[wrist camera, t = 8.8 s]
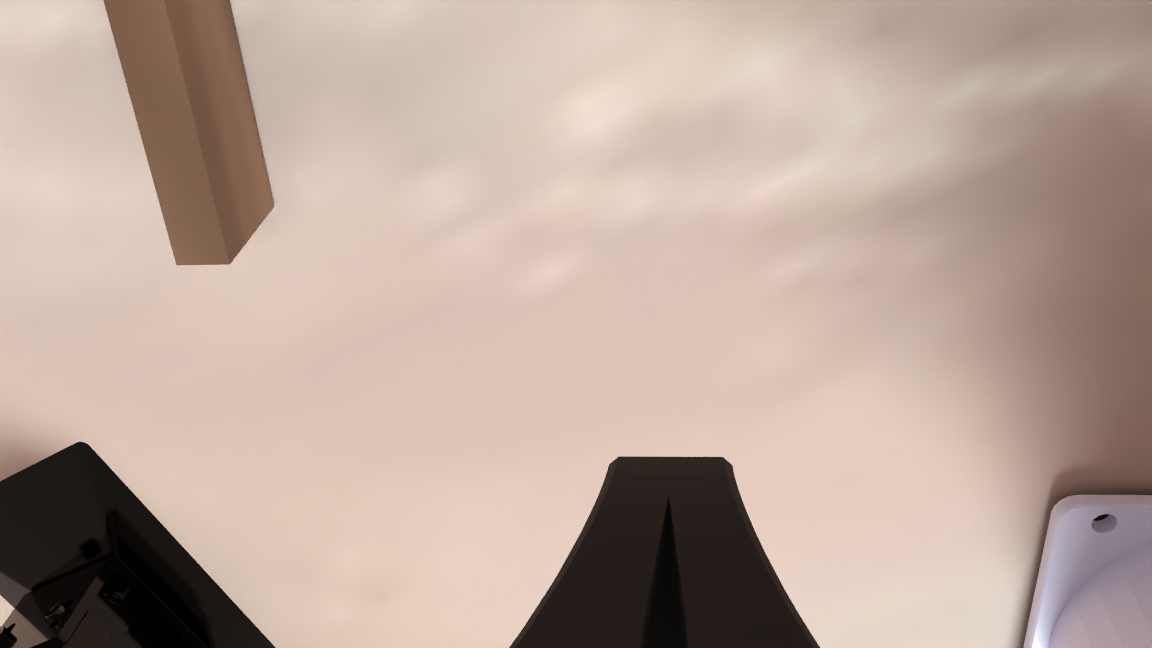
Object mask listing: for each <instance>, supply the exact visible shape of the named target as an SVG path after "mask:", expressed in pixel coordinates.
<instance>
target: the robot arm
mask: <svg viewBox="0 0 1152 648" xmlns="http://www.w3.org/2000/svg"><path fill="white" fill-rule="evenodd" d="M1103 514H1110V515H1109V516H1108V517H1107V518H1105V519H1103V520H1099V521H1094V518H1096V517H1098V516H1099V515H1103ZM509 648H820V647H819V645H818V644H817V642H816V641H815V639H814V638H813V636H812V635H811V633H810V631H809V630H808V628H807V626H806V625H805V623H804V622H803V620H802V618H801V617H800V615H799V614H798V612H797V610H796V609H795V607H794V605H793V603H792V602H791V600H790V598H789V597H788V595H787V593H786V591H785V590H784V588H783V586H782V584H781V582H780V580H779V578H778V576H777V574H776V573H775V571H774V569H773V567H772V565H771V563H770V561H769V559H768V557H767V556H766V554H765V552H764V550H763V548H762V545H761V543H760V541H759V539H758V537H757V535H756V533H755V530H754V528H753V526H752V523H751V521H750V519H749V516H748V514H747V512H746V509H745V507H744V504H743V501H742V499H741V496H740V493H739V490H738V487H737V484H736V480H735V477H734V472H733V467H732V465H731V464H730V463H729V462H728V461H727V460H726V459H725V458H723V457H618V458H617V459H615V460H614V461H613V462H612V463H611V464H609V467H608V471H607V474H606V477H605V480H604V483H603V485H602V488H601V491H600V493H599V495H598V498H597V500H596V502H595V505H594V507H593V509H592V511H591V513H590V515H589V517H588V519H587V521H586V523H585V526H584V528H583V530H582V532H581V534H580V535H579V537H578V539H577V541H576V543H575V544H574V546H573V548H572V550H571V552H570V553H569V555H568V557H567V559H566V561H565V563H564V564H563V566H562V568H561V570H560V572H559V573H558V575H557V577H556V578H555V580H554V582H553V583H552V585H551V586H550V588H549V590H548V591H547V593H546V594H545V596H544V597H543V599H542V600H541V602H540V603H539V605H538V606H537V608H536V609H535V611H534V613H533V614H532V616H531V617H530V619H529V620H528V622H527V623H526V625H525V626H524V628H523V629H522V631H521V632H520V634H519V635H518V636H517V638H516V639H515V640H514V642H513V643H512V645H511V646H510V647H509ZM1023 648H1152V495H1073V496H1068V497H1066V498H1064V499H1061V500H1060V501H1059V502H1058V503H1057V504H1056V505H1054V507H1053V509H1052V512H1051V515H1050V520H1049V525H1048V530H1047V535H1046V540H1045V545H1044V549H1043V554H1042V559H1041V564H1040V569H1039V574H1038V579H1037V583H1036V588H1035V593H1034V598H1033V603H1032V608H1031V613H1030V618H1029V622H1028V627H1027V632H1026V637H1025V642H1024V647H1023Z"/></svg>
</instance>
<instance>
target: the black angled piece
mask: <svg viewBox="0 0 1152 648" xmlns="http://www.w3.org/2000/svg"><path fill="white" fill-rule="evenodd" d="M0 595H1V596H2V597H3V598H4V599H5V600H6V601H8V602H9V603H10V604H11V605H12V606H13V607H14V608H15V609H14V610H13V612H12V613H11V614H10V616H9V617H8V619H7V620H6V621H5V623H4V624H3V626H1V627H0V648H275V647H274V646H273V644H272V643H271V642H270V641H269V640H268V639H267V638H266V637H265V636H264V635H263V634H262V633H261V631H260V630H259V629H258V628H257V627H256V626H255V625H254V624H253V623H252V622H251V621H250V620H249V618H248V617H247V616H246V615H245V614H244V613H243V612H242V611H241V610H240V609H239V608H238V607H237V605H236V604H235V603H234V602H233V601H232V600H231V599H230V598H229V597H228V596H227V595H226V593H225V592H224V591H223V590H222V589H221V588H220V587H219V586H218V585H217V584H216V583H215V582H214V580H213V579H212V578H211V577H210V576H209V575H208V574H207V573H206V572H205V571H204V570H203V569H202V567H201V566H200V565H199V564H198V563H197V562H196V561H195V560H194V559H193V558H192V557H191V556H190V554H189V553H188V552H187V551H186V550H185V549H184V548H183V547H182V546H181V545H180V544H179V542H178V541H177V540H176V539H175V538H174V537H173V536H172V535H171V534H170V533H169V532H168V531H167V529H166V528H165V527H164V526H163V525H162V524H161V523H160V522H159V521H158V520H157V519H156V518H155V516H154V515H153V514H152V513H151V512H150V511H149V510H148V509H147V508H146V507H145V506H144V504H143V503H142V502H141V501H140V500H139V499H138V498H137V497H136V496H135V495H134V494H133V493H132V491H131V490H130V489H129V488H128V487H127V486H126V485H125V484H124V483H123V482H122V481H121V480H120V478H119V477H118V476H117V475H116V474H115V473H114V472H113V471H112V470H111V469H110V468H109V467H108V465H107V464H106V463H105V462H104V461H103V460H102V459H101V458H100V457H99V456H98V455H97V453H96V452H95V451H94V450H93V449H92V448H91V447H90V446H89V445H88V444H86V443H84V442H77V443H75V444H73V445H71V446H69V447H67V448H65V449H63V450H61V451H59V452H57V453H55V454H53V455H51V456H49V457H47V458H45V459H44V460H42V461H40V462H38V463H36V464H34V465H32V466H30V467H28V468H26V469H24V470H22V471H20V472H18V473H16V474H14V475H12V476H10V477H8V478H6V479H4V480H2V481H0Z"/></svg>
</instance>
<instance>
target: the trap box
mask: <svg viewBox="0 0 1152 648" xmlns="http://www.w3.org/2000/svg"><path fill="white" fill-rule="evenodd" d="M104 4H105V7H106V11H107V14H108V18H109V22H110V25H111V29H112V33H113V36H114V40H115V43H116V47H117V51H118V54H119V58H120V62H121V65H122V69H123V72H124V76H125V80H126V83H127V87H128V91H129V94H130V98H131V101H132V105H133V109H134V112H135V116H136V120H137V123H138V127H139V130H140V134H141V138H142V141H143V145H144V149H145V152H146V156H147V159H148V163H149V167H150V170H151V174H152V178H153V181H154V185H155V188H156V192H157V196H158V199H159V203H160V207H161V210H162V214H163V217H164V221H165V225H166V228H167V232H168V236H169V239H170V243H171V246H172V250H173V254H174V257H175V261H176V265H219V264H230V263H231V262H232V261H233V259H234V258H235V257H236V256H237V254H238V253H239V252H240V250H241V249H242V248H243V246H244V245H245V244H246V243H247V241H248V240H249V239H250V237H251V236H252V235H253V233H254V232H255V231H256V230H257V228H258V227H259V226H260V224H261V223H262V222H263V220H264V219H265V218H266V217H267V215H268V214H269V213H270V211H271V210H272V209H273V208H274V203H273V198H272V194H271V189H270V185H269V180H268V175H267V171H266V166H265V162H264V157H263V152H262V148H261V143H260V139H259V134H258V130H257V125H256V120H255V116H254V111H253V107H252V102H251V97H250V93H249V88H248V84H247V79H246V75H245V70H244V65H243V61H242V56H241V52H240V47H239V43H238V38H237V33H236V29H235V24H234V20H233V15H232V10H231V6H230V1H229V0H104Z"/></svg>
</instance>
